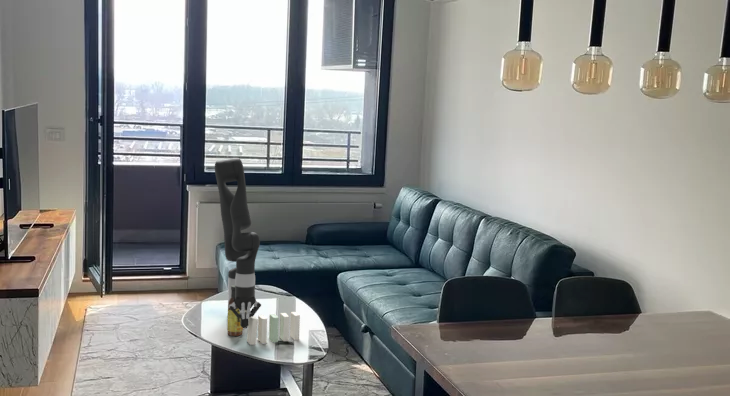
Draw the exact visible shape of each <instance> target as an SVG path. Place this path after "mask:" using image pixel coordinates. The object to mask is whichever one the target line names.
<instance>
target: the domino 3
mask: <svg viewBox="0 0 730 396" xmlns="http://www.w3.org/2000/svg"><path fill="white" fill-rule="evenodd" d="M268 322H269V327H268V328H269V330H268V331H269V332H268V339H269V340H270V341H271V342H272V343H278V342H279V322H280V316H278V315H276V314H275V313H270V314H269V321H268Z"/></svg>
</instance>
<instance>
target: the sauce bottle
mask: <svg viewBox="0 0 730 396" xmlns="http://www.w3.org/2000/svg"><path fill="white" fill-rule="evenodd" d="M231 290H232V292H231V299H230V300H229V303H228V302H227V324H226V325H227V328H226V329H227V335H228V336H231V337H238V336H241V335H243V332H244V331H243V330H244V328H242V327H241V325H240V318H237V316H236V315H235V314H234V313H233V312H232V311H231V309H230V308H229V307H228V305H231V304H232V303H233V302H234V299H235V285H232V286H231ZM235 307H236V308H235V310H236V311H237V313H238V314H240V311H239V308H238V307H237V306H236V305H235Z"/></svg>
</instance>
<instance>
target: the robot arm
mask: <svg viewBox="0 0 730 396" xmlns="http://www.w3.org/2000/svg"><path fill="white" fill-rule="evenodd" d="M214 175H215V179H216V183H217V184H216V185H217V189H218V195H219V196H218V197H219V204H220V205H219V207H220V216H221V221H222V229H223V235H224V237H223V238H224V239H223V240H224V255H225V259H226V260H227V261H229V262H231V263H232V262H235V264H236V265H235V267H234V268H232V269H229V270H228V274H227V276H228V277H227V278H228V279H227V282H228V283H227V284H228V285H227V286H228V287H227V289H228V290H227V291H228V292H227V308H228V307H229V308H230V309H231V311H232V312H233V313H234V314H235V315H236V316H237V318H240V325H241V327H242V328H243V329H248V324H249V317H253V316H255V314H256V313H257V311H259V309H260V308H261V307H262V304H261V303H260V302H259V301H257V298H256V275H255V274H256V273H255V272H256V271H255V269H256V268H255V267H256V266H255V265H256V259H257V256H258V255H257V254H258V251H259V249H260V245H261V239H260V236H259V234H258V233H257V232H255V231H254V232H253V231H249V232H242V231H244V230H246V229H249V228H250V227H251V226H252V221H251V216H250V211H249V206H248V198H247V186H246V178H245V177H246V176H245V169H244V165H243V162H242V159H240V157H233V158H226V159H225V158H224V159H219V160H217V161H215V164H214ZM232 182H237V188H236V191H235V193H233V192H232V191H231V190H230V189H229V188H228V186H227V184H226V183H232ZM232 285H235V299H234V302H233V303H232V304H231V305H228V303H229V300H230V299H231V292H232V290H231V286H232ZM235 305H236V306H237V307H238V308H239V311H240V314H238V313H237V311H236V310H235V308H236V307H235Z"/></svg>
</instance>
